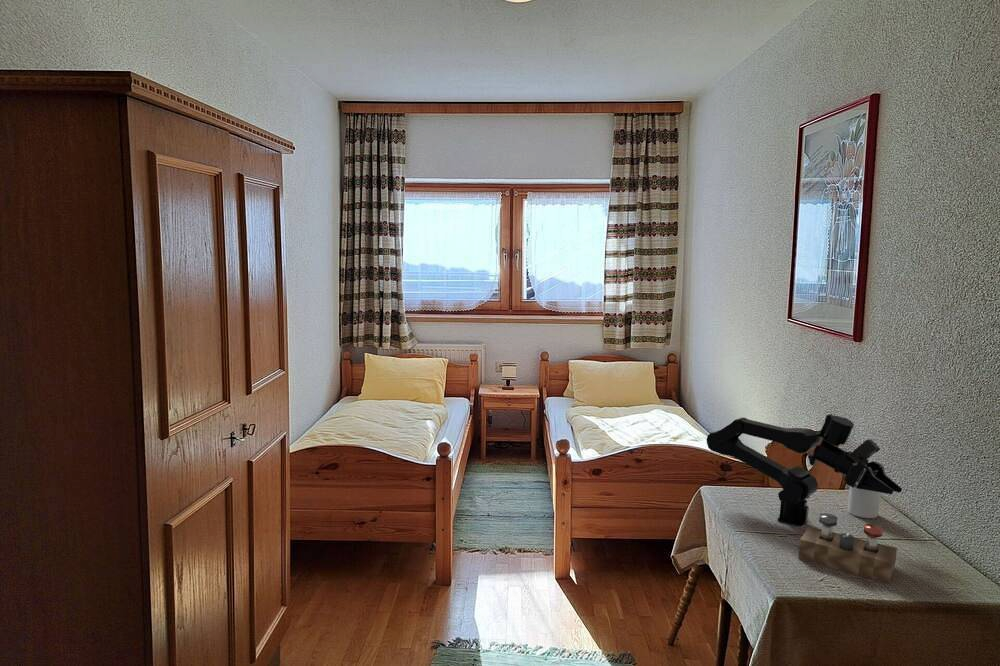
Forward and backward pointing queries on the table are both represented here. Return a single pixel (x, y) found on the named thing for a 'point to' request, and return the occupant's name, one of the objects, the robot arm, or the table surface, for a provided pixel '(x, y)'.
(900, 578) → the table surface
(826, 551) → the mount
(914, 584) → the table surface
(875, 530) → the knob right
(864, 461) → the robot arm
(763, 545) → the table surface
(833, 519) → the knob left
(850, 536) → the dial
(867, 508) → the pill bottle
